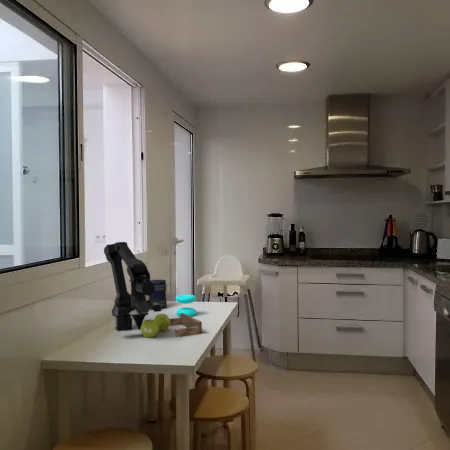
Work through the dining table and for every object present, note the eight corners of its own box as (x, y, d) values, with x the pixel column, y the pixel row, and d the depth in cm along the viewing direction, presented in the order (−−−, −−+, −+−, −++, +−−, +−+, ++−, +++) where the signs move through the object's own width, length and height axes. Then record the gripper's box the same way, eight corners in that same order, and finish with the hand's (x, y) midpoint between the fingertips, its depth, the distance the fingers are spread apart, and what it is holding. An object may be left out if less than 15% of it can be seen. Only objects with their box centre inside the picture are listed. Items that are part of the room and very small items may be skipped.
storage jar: (165, 309, 266) (164, 281, 266) (147, 310, 266) (146, 282, 266) (167, 306, 276) (167, 279, 276) (150, 306, 276) (149, 279, 276)
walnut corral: (176, 337, 206) (175, 325, 206) (158, 326, 226) (158, 315, 226) (202, 333, 211) (201, 321, 211) (182, 323, 231) (182, 312, 231)
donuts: (174, 294, 253) (193, 293, 256) (174, 314, 253) (193, 312, 256) (177, 297, 243) (197, 296, 246) (178, 318, 243) (198, 316, 246)
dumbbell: (156, 338, 205) (156, 321, 204) (139, 338, 207) (138, 320, 207) (172, 329, 220) (171, 313, 220) (155, 328, 223) (155, 312, 222)
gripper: (120, 297, 199) (121, 336, 199) (165, 293, 207) (166, 330, 207) (114, 293, 209) (115, 330, 209) (156, 289, 217) (158, 325, 217)
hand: (139, 329), depth 210 cm, fingers closed
